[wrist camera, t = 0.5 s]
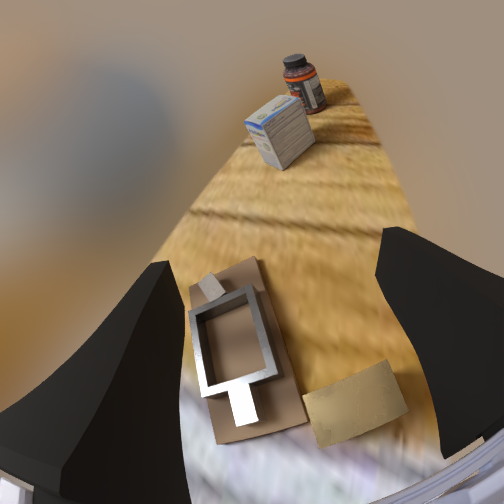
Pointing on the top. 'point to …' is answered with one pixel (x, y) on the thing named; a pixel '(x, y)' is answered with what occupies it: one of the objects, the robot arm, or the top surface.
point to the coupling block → (355, 405)
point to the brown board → (242, 356)
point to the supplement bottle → (304, 83)
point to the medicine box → (281, 130)
